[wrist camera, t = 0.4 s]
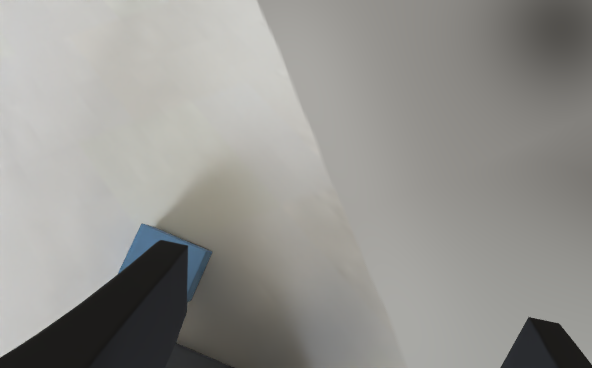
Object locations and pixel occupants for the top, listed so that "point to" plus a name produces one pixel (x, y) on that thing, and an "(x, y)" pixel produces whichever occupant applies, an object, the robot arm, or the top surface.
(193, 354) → the small drawer box
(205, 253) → the block
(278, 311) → the top surface
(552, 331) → the robot arm
